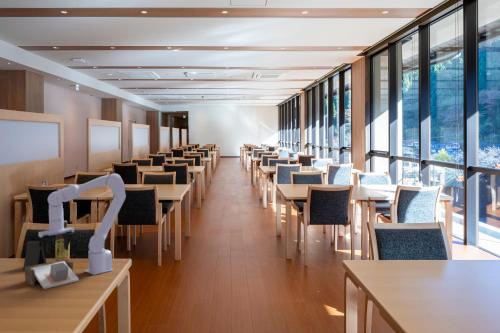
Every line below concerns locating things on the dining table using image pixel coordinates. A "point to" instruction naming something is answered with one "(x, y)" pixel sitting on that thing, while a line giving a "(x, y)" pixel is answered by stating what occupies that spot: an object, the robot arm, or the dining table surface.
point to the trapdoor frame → (30, 272)
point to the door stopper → (34, 254)
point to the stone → (59, 272)
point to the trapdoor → (46, 281)
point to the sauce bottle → (61, 247)
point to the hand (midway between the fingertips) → (57, 251)
